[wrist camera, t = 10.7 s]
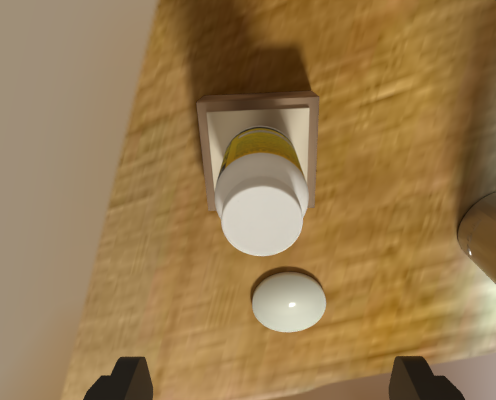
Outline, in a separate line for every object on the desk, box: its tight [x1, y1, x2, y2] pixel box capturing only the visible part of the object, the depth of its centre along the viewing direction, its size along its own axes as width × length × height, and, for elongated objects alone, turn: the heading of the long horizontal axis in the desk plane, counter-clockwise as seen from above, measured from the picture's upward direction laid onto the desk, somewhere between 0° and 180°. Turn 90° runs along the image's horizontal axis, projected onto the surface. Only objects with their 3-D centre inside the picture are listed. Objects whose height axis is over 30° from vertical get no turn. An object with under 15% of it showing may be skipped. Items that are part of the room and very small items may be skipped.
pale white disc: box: [252, 272, 326, 332], centre depth 40 cm, size 9×9×1 cm
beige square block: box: [196, 91, 319, 211], centre depth 30 cm, size 10×10×4 cm
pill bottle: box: [215, 126, 309, 256], centre depth 23 cm, size 6×6×11 cm
